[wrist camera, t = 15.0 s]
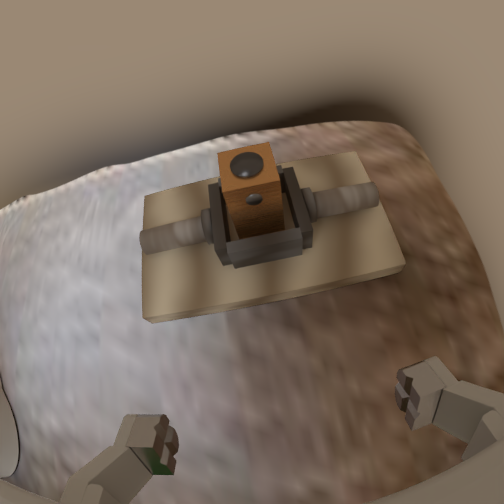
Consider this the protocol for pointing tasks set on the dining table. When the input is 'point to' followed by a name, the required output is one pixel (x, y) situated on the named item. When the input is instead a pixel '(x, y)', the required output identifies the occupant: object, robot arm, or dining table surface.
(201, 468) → the dining table surface
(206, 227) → the base
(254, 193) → the block
